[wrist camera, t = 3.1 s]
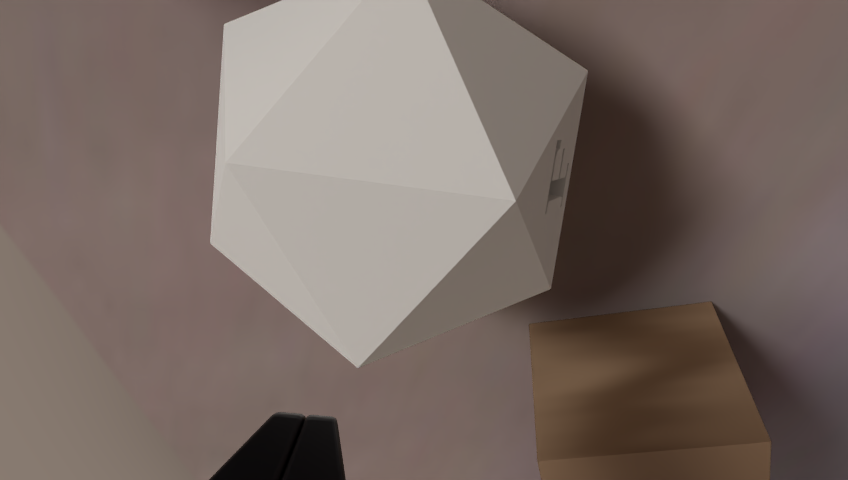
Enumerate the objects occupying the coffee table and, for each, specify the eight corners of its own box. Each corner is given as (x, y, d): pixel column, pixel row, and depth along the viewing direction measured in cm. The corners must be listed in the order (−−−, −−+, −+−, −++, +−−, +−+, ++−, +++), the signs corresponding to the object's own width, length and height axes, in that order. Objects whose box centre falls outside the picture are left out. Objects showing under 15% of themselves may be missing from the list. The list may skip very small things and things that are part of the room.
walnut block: (710, 299, 23) (771, 441, 18) (713, 426, 26) (765, 578, 21) (528, 322, 24) (537, 461, 19) (551, 441, 27) (564, 587, 22)
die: (429, 269, 24) (647, 395, 15) (153, 274, 19) (249, 454, 11) (462, 13, 22) (730, -3, 14) (168, -45, 18) (296, -123, 9)
